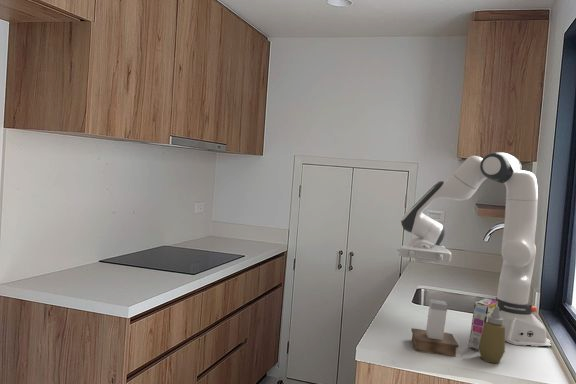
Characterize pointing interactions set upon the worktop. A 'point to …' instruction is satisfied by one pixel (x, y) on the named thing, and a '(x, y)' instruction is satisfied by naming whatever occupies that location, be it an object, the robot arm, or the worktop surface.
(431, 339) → the stand
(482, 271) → the worktop surface
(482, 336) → the squeeze bottle
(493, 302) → the candy bar box
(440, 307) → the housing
